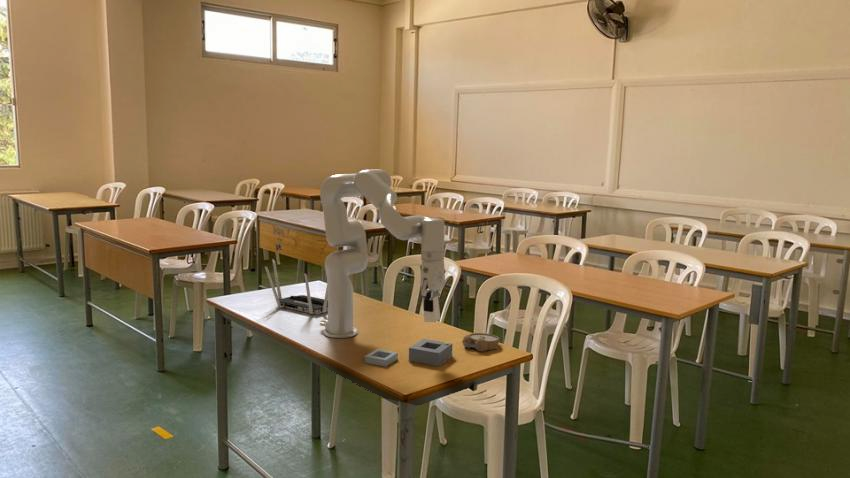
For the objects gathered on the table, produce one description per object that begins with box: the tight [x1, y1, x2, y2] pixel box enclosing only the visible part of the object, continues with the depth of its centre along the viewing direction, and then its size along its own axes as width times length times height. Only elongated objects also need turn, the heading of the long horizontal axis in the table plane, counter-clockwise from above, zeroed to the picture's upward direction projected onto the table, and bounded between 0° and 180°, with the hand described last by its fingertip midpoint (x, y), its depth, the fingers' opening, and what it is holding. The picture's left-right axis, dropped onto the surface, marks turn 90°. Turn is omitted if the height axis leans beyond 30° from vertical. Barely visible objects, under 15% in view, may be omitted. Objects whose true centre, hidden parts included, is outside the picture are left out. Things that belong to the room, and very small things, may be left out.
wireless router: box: [264, 258, 328, 315], centre depth 268 cm, size 34×23×20 cm
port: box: [408, 338, 453, 367], centre depth 213 cm, size 11×11×5 cm
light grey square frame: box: [364, 348, 399, 368], centre depth 210 cm, size 8×8×2 cm
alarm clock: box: [461, 332, 501, 353], centre depth 226 cm, size 11×5×15 cm
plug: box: [421, 291, 441, 323], centre depth 210 cm, size 4×4×10 cm
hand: (431, 309), depth 210 cm, fingers closed on plug, 4 cm apart
